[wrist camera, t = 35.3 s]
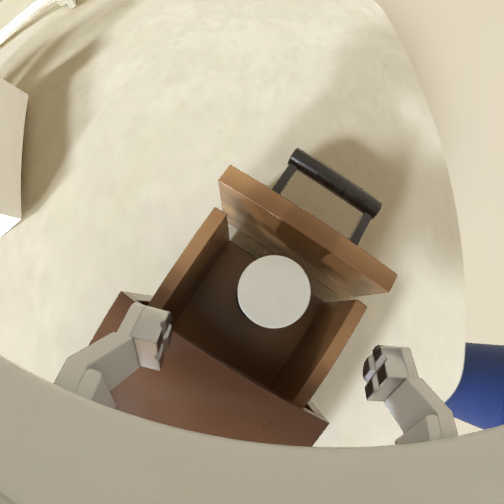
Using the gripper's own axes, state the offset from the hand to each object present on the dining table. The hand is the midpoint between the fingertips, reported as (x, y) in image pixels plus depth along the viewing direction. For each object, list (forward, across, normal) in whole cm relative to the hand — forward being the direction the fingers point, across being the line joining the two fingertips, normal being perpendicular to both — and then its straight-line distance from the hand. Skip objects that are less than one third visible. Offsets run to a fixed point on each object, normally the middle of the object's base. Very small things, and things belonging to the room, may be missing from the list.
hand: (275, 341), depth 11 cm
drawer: (+10, 0, +6) cm, 12 cm away
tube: (+9, 0, +6) cm, 11 cm away
